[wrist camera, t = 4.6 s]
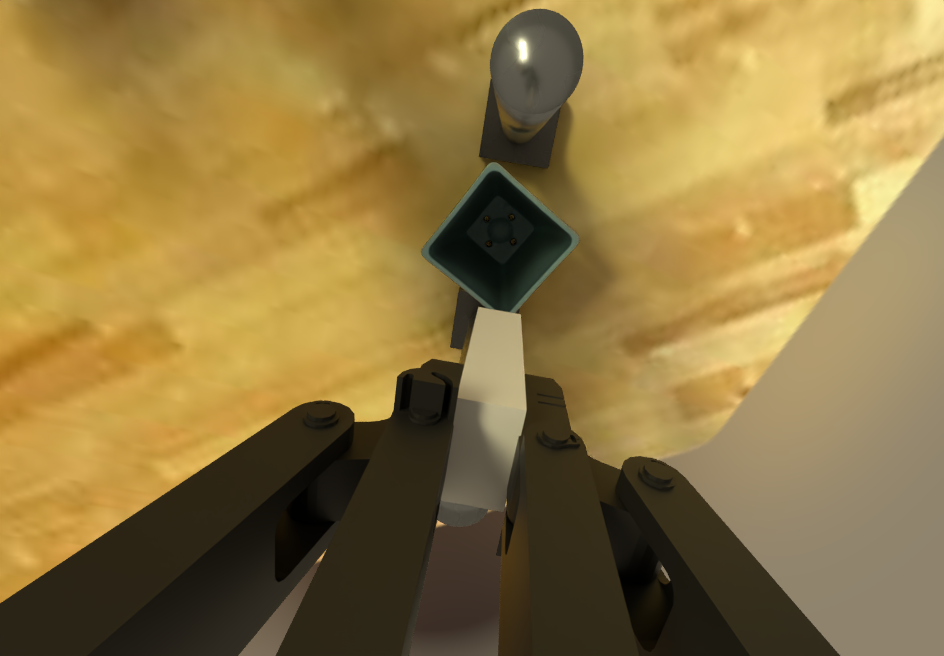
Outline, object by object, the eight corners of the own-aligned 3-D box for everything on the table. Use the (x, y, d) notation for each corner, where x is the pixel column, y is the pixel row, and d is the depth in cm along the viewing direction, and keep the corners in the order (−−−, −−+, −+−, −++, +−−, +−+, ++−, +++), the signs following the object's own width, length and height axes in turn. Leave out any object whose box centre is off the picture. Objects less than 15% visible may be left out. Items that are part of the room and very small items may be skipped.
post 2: (491, 81, 38) (458, -65, 14) (561, 93, 38) (655, -34, 14) (480, 157, 40) (433, 146, 16) (546, 168, 40) (604, 175, 16)
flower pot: (568, 224, 41) (584, 239, 33) (506, 294, 44) (505, 324, 36) (496, 159, 40) (492, 158, 32) (435, 235, 43) (417, 253, 34)
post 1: (460, 286, 44) (399, 435, 20) (520, 296, 44) (533, 459, 20) (451, 341, 46) (387, 538, 22) (509, 351, 46) (508, 561, 22)
